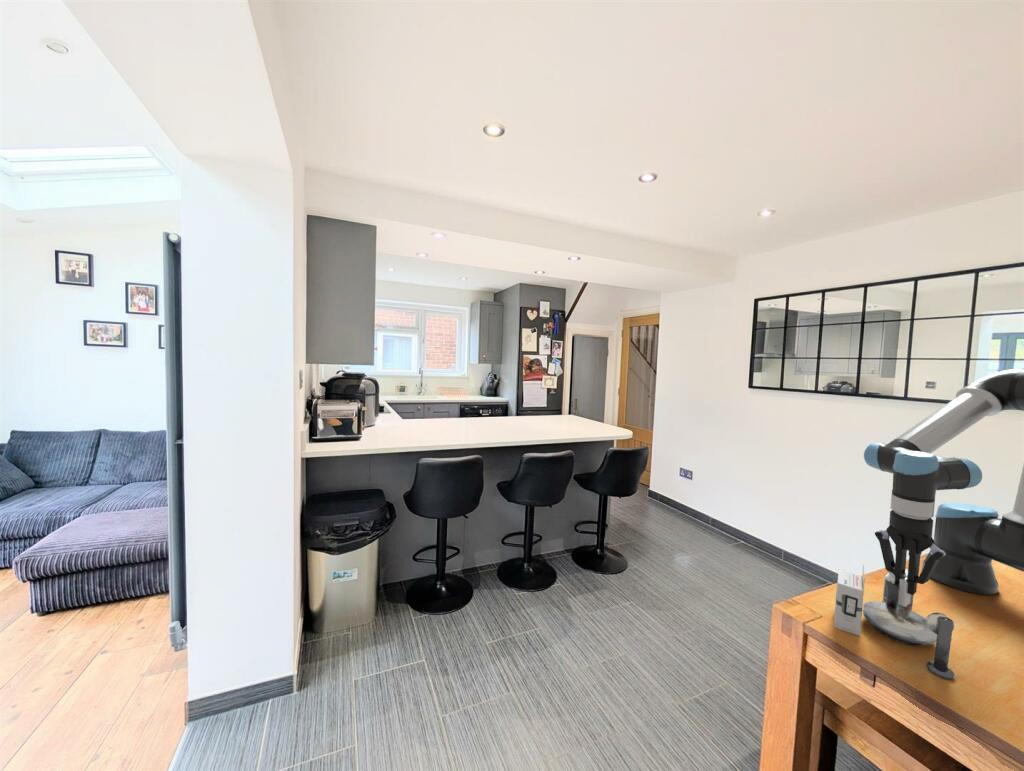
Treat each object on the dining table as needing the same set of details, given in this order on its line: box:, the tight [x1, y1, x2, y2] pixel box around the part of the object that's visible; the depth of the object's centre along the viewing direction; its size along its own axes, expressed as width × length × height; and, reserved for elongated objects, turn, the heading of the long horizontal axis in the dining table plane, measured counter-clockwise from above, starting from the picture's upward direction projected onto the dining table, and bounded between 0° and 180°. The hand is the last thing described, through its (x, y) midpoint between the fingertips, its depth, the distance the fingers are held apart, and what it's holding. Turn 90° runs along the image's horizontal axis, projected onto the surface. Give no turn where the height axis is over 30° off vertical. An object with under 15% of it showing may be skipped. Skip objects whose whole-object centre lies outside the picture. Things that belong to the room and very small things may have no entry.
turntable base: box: [872, 624, 924, 647], centre depth 95 cm, size 9×9×2 cm
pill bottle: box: [882, 568, 915, 611], centre depth 105 cm, size 6×6×10 cm
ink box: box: [833, 564, 866, 637], centre depth 97 cm, size 8×5×15 cm, turn 140°
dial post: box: [925, 612, 955, 681], centre depth 83 cm, size 4×4×12 cm
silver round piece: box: [862, 581, 937, 645], centre depth 95 cm, size 13×13×8 cm
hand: (903, 603), depth 99 cm, fingers closed
